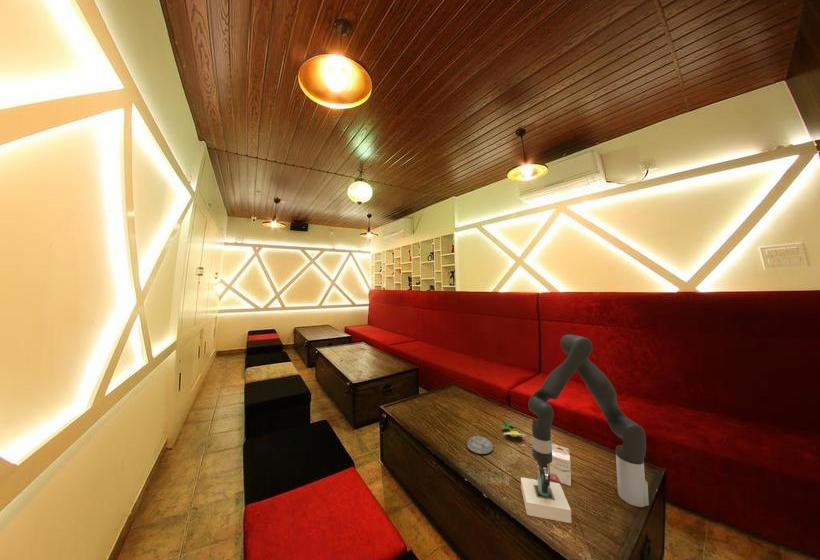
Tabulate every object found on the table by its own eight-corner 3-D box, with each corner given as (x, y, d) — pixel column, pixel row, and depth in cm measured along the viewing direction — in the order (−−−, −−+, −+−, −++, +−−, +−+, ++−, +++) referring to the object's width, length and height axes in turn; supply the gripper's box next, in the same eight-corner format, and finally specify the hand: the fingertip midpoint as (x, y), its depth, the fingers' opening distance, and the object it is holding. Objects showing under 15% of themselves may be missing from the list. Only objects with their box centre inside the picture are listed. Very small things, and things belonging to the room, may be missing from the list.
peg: (547, 495, 109) (546, 467, 109) (550, 503, 105) (549, 473, 105) (537, 494, 110) (536, 465, 110) (539, 501, 106) (538, 472, 106)
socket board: (560, 495, 112) (559, 483, 112) (571, 523, 98) (571, 509, 99) (521, 488, 116) (520, 477, 116) (526, 515, 102) (526, 501, 103)
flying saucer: (495, 457, 138) (494, 447, 138) (466, 454, 141) (466, 444, 141) (491, 441, 152) (491, 432, 153) (466, 439, 155) (466, 430, 156)
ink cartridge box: (550, 479, 121) (548, 448, 121) (550, 473, 125) (549, 442, 126) (571, 486, 116) (569, 454, 117) (571, 479, 121) (569, 448, 121)
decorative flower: (493, 422, 177) (506, 442, 148) (493, 415, 178) (506, 433, 149) (511, 424, 176) (529, 444, 147) (511, 416, 177) (528, 435, 148)
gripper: (556, 459, 100) (558, 504, 100) (547, 438, 114) (548, 478, 113) (536, 456, 102) (537, 500, 101) (529, 436, 116) (530, 475, 115)
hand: (543, 488), depth 107 cm, fingers closed on peg, 4 cm apart
